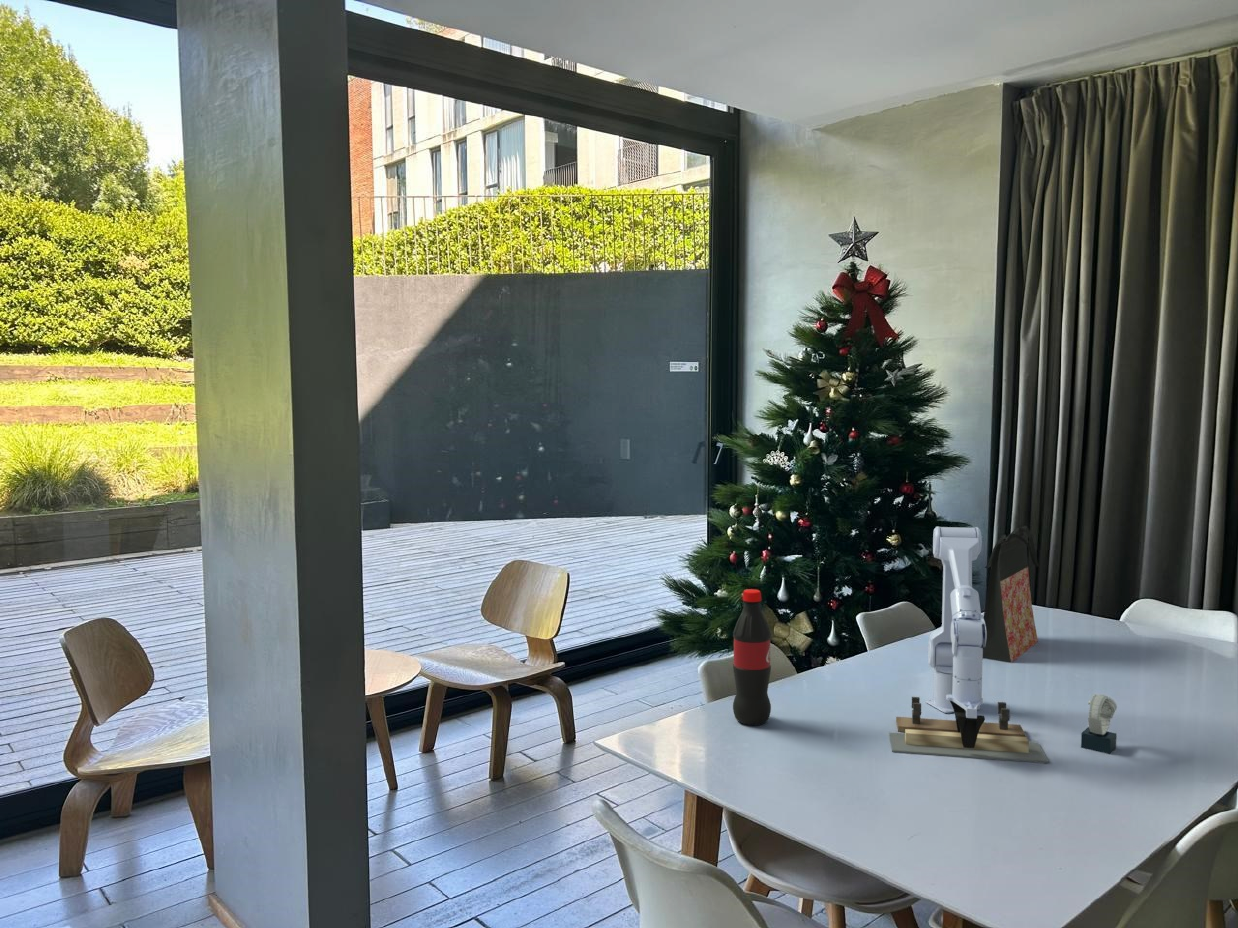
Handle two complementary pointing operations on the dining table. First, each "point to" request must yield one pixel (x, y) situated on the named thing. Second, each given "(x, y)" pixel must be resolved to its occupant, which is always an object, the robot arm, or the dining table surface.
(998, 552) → the gift bag
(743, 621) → the cola bottle
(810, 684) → the dining table surface
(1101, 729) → the watch
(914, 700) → the rack
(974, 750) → the mat
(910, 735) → the rail
